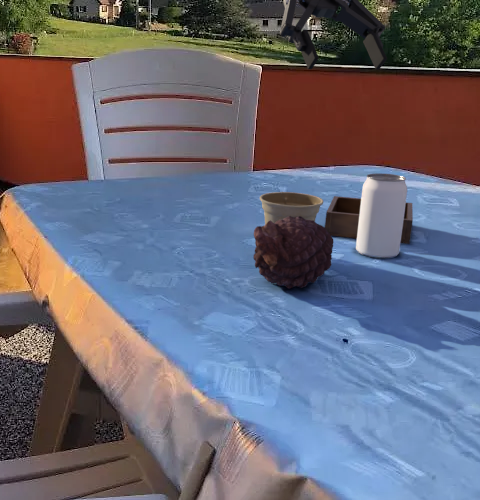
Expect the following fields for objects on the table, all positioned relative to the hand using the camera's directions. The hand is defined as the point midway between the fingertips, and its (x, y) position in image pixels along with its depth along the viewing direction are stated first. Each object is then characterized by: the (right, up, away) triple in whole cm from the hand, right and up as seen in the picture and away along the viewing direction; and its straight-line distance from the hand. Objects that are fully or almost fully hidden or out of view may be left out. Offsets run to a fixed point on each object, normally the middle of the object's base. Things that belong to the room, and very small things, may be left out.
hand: (348, 64), depth 122 cm
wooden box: (+4, -29, +1) cm, 29 cm away
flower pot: (-13, -33, -13) cm, 38 cm away
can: (+1, -33, -12) cm, 35 cm away
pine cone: (-15, -37, -26) cm, 47 cm away
